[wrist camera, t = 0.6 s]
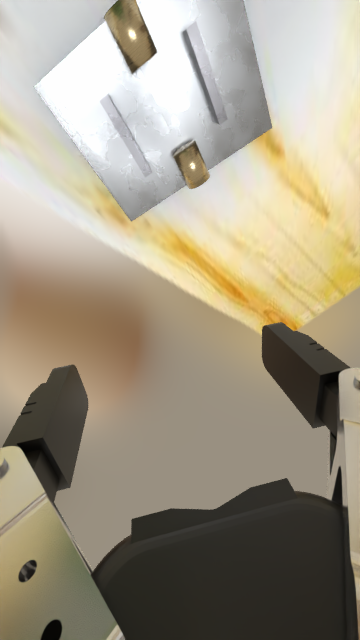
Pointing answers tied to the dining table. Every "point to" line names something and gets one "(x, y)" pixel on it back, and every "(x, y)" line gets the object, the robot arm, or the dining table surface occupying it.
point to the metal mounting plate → (160, 96)
